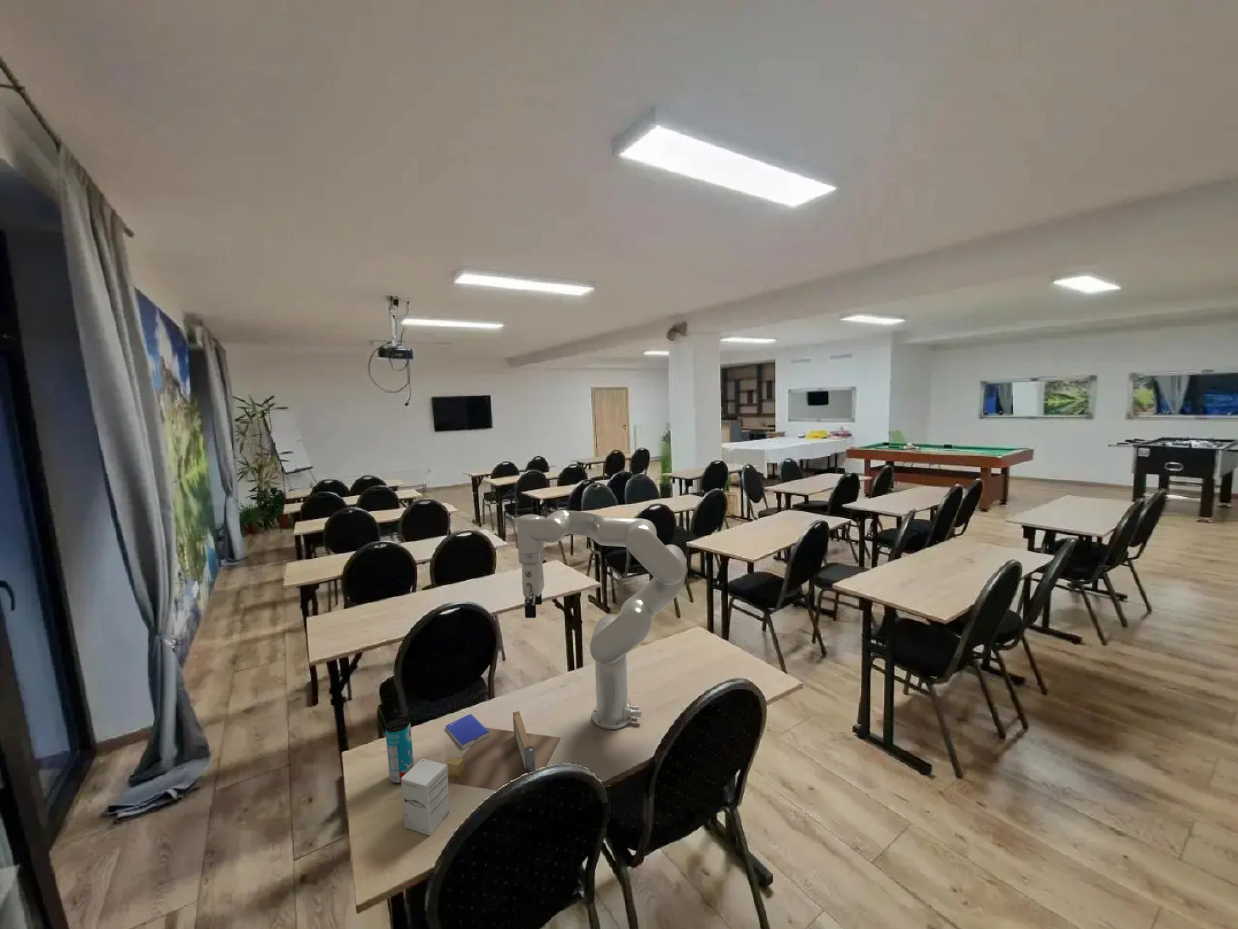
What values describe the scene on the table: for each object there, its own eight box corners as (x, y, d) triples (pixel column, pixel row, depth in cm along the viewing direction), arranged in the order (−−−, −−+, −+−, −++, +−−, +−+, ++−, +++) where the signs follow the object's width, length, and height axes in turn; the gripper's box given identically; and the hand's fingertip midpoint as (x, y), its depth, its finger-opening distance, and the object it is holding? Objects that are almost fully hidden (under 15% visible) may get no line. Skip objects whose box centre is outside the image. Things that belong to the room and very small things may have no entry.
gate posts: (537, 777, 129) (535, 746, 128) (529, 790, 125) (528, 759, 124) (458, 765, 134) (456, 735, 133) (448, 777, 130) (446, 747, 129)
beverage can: (413, 782, 129) (408, 728, 128) (388, 788, 128) (383, 733, 126) (415, 766, 135) (411, 714, 133) (391, 772, 133) (386, 719, 132)
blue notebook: (445, 725, 150) (462, 744, 140) (471, 713, 155) (489, 730, 145) (445, 730, 150) (463, 749, 140) (471, 718, 155) (489, 735, 146)
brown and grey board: (533, 773, 130) (531, 749, 129) (526, 775, 129) (524, 751, 128) (520, 732, 146) (519, 711, 145) (514, 734, 146) (512, 712, 145)
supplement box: (403, 828, 115) (399, 778, 114) (426, 804, 122) (422, 756, 120) (429, 837, 112) (425, 786, 111) (451, 812, 119) (447, 763, 118)
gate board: (561, 739, 144) (561, 737, 144) (530, 798, 123) (530, 795, 123) (485, 729, 150) (484, 727, 150) (443, 783, 129) (443, 781, 128)
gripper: (538, 565, 142) (541, 623, 144) (548, 547, 159) (550, 599, 161) (512, 565, 142) (515, 623, 144) (524, 548, 159) (527, 600, 161)
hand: (533, 610), depth 153 cm, fingers open, 9 cm apart
